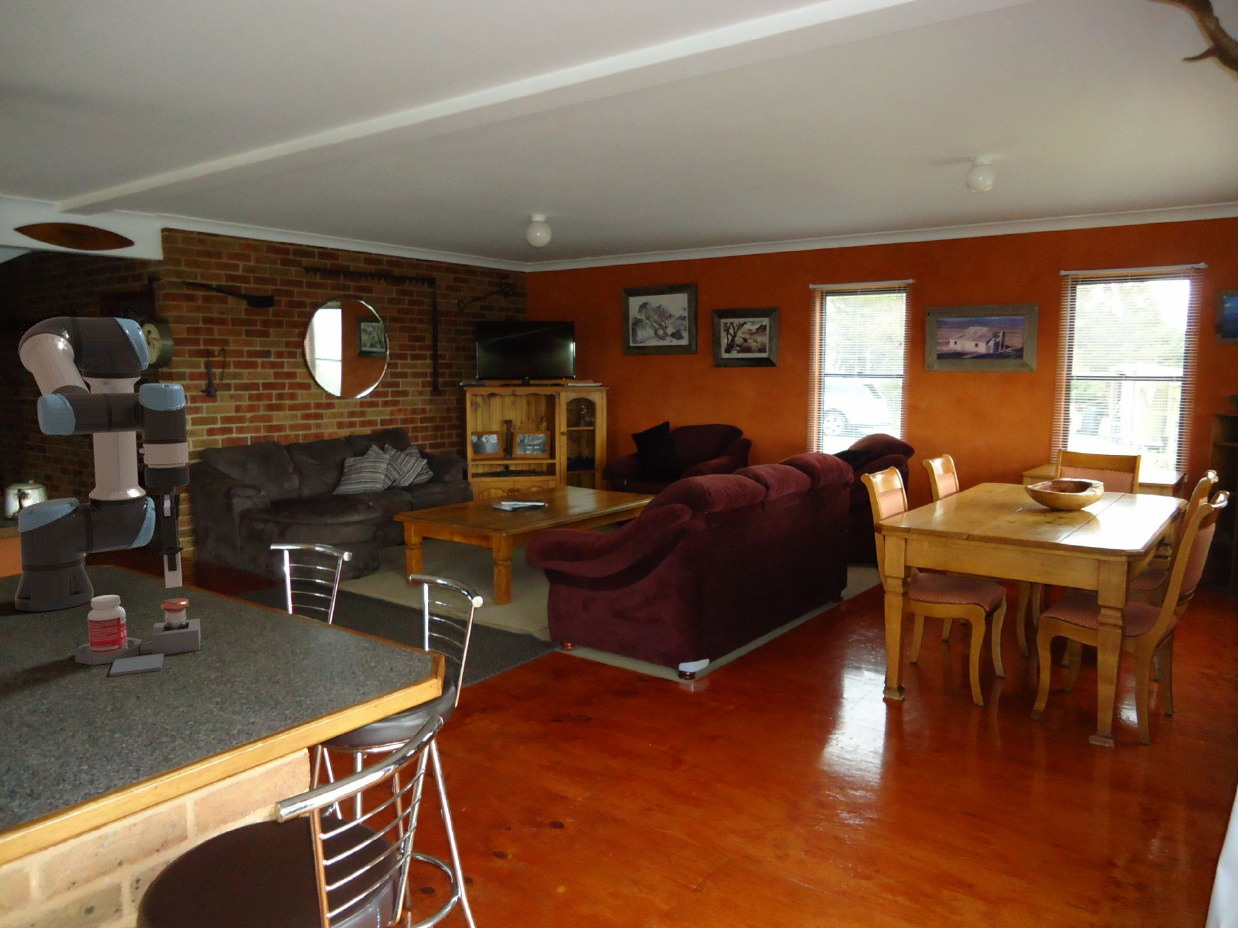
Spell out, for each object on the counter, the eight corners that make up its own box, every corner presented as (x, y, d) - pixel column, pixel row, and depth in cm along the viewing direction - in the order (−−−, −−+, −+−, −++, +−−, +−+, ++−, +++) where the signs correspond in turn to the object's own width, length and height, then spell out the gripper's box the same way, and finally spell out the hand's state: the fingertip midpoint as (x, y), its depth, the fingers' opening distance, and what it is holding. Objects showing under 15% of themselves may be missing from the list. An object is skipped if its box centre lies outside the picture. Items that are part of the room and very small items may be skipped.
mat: (115, 661, 160) (115, 658, 160) (164, 655, 163) (163, 652, 163) (109, 676, 153) (109, 673, 153) (161, 669, 156) (160, 666, 156)
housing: (81, 649, 167) (80, 629, 166) (200, 636, 175) (199, 616, 174) (72, 667, 157) (71, 646, 157) (199, 652, 166) (198, 631, 165)
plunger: (163, 629, 169) (161, 599, 169) (190, 626, 171) (188, 597, 171) (161, 636, 165) (159, 606, 164) (189, 633, 167) (187, 603, 166)
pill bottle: (129, 656, 163) (125, 599, 162) (91, 662, 160) (87, 604, 158) (126, 647, 168) (122, 591, 167) (89, 652, 165) (85, 596, 164)
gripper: (147, 462, 169) (154, 580, 171) (140, 470, 157) (149, 596, 160) (189, 460, 172) (196, 576, 174) (187, 468, 160) (194, 592, 163)
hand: (173, 586), depth 167 cm, fingers closed
